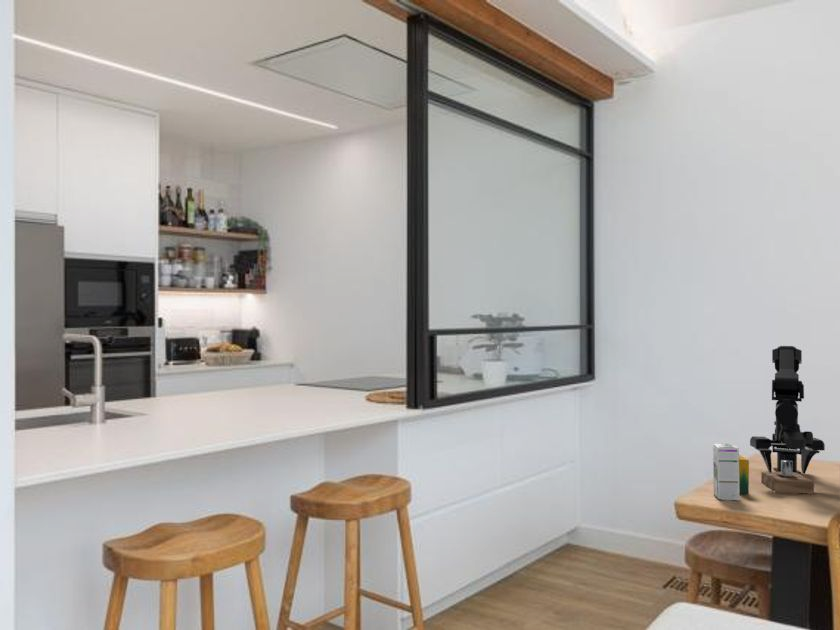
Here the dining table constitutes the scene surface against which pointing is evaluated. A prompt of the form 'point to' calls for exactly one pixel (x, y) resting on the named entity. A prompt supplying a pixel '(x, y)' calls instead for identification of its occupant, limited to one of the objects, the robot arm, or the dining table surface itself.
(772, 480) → the hole block
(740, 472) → the crayon box
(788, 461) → the peg
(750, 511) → the dining table surface
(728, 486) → the syrup box
